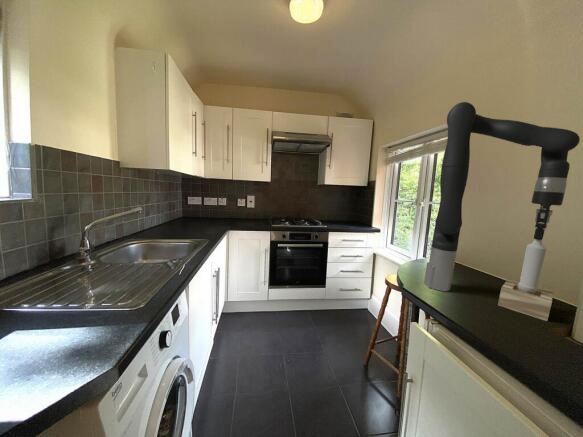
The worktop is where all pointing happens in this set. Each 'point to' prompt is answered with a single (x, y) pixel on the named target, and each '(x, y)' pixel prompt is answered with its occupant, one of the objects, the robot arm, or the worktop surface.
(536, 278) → the bottle
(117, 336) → the worktop surface
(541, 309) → the socket holder
